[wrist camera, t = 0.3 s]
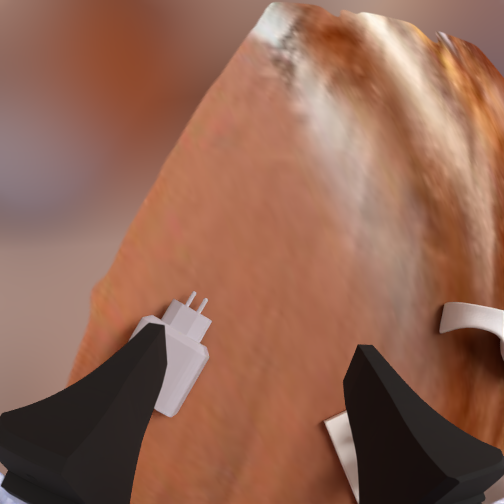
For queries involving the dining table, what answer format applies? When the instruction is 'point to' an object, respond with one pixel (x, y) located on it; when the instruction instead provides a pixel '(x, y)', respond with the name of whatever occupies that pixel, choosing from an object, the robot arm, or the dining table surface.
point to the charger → (180, 352)
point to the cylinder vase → (495, 492)
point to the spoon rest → (473, 319)
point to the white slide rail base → (344, 448)
